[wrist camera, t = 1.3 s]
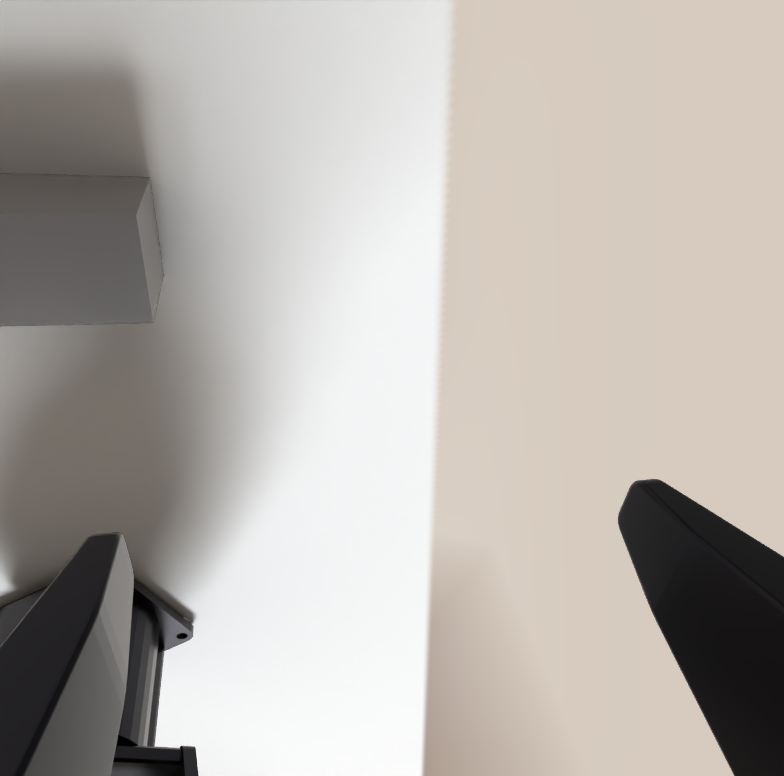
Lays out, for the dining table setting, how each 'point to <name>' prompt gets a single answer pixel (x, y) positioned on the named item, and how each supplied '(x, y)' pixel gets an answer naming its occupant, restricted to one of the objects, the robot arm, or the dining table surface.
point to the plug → (78, 250)
